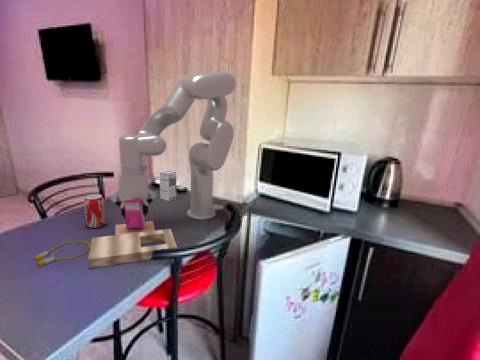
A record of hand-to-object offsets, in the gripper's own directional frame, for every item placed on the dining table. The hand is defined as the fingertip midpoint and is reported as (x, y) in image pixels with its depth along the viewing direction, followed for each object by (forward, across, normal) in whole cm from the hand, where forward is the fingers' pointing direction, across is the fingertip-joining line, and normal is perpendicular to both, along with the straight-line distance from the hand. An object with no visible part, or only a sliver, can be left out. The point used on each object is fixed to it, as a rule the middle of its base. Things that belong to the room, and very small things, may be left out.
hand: (135, 215), depth 110 cm
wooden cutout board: (+6, +1, +15) cm, 16 cm away
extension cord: (+7, +23, +10) cm, 26 cm away
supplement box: (+5, 0, 0) cm, 5 cm away
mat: (+6, 0, 0) cm, 6 cm away
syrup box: (+7, -17, -32) cm, 37 cm away
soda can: (+6, +14, -9) cm, 18 cm away
